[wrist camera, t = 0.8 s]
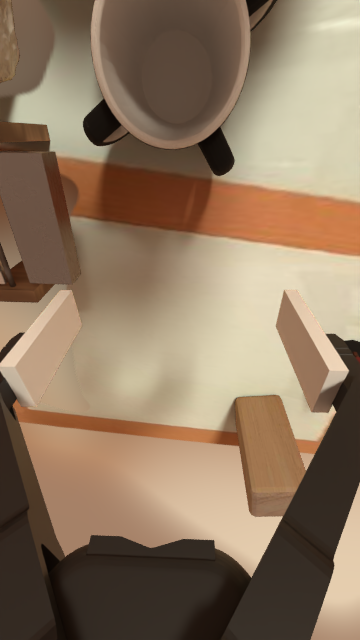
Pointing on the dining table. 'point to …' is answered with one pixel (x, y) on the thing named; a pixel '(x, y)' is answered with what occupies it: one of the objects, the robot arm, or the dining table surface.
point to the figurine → (354, 348)
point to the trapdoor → (38, 216)
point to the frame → (17, 276)
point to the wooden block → (267, 454)
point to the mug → (171, 71)
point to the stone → (7, 42)
